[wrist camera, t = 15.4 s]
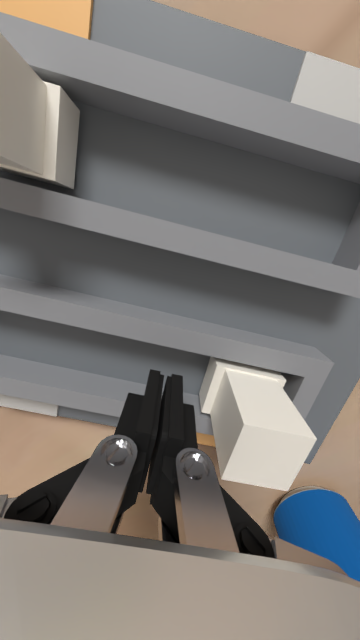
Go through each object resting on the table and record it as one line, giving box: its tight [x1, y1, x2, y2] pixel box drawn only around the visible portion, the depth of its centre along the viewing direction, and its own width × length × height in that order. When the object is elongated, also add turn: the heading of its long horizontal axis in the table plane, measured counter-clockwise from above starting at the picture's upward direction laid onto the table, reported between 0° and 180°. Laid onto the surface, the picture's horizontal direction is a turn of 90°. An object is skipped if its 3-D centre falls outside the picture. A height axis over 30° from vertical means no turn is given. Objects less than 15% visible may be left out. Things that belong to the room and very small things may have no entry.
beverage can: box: [274, 486, 360, 582], centre depth 15 cm, size 6×6×12 cm
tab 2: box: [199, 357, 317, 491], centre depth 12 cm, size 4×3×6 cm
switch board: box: [0, 0, 360, 464], centre depth 13 cm, size 30×22×3 cm
